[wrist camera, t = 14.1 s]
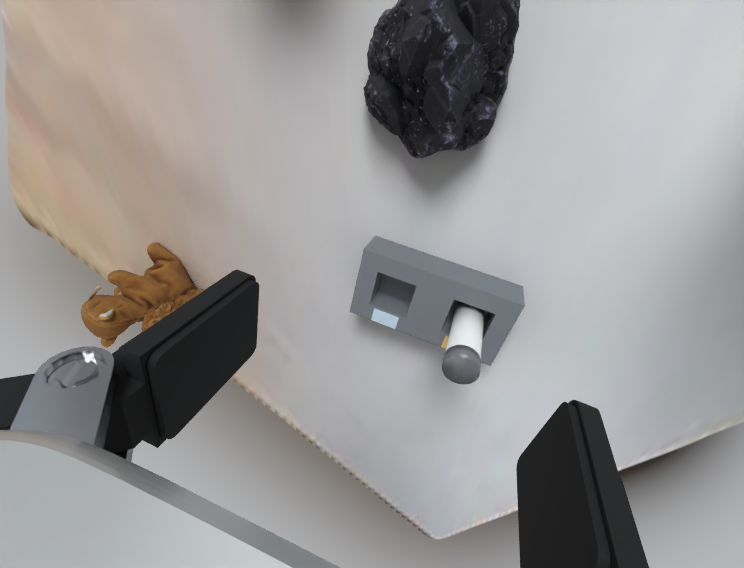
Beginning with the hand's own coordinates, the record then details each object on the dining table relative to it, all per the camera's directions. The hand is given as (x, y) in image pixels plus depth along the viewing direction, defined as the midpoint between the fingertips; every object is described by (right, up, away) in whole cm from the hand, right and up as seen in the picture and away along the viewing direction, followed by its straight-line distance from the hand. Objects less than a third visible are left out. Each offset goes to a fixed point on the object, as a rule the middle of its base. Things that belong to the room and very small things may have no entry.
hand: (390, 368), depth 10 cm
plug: (+11, 0, +29) cm, 31 cm away
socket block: (+7, +2, +31) cm, 31 cm away
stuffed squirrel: (-30, +2, +44) cm, 53 cm away
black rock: (+6, +21, +21) cm, 30 cm away
